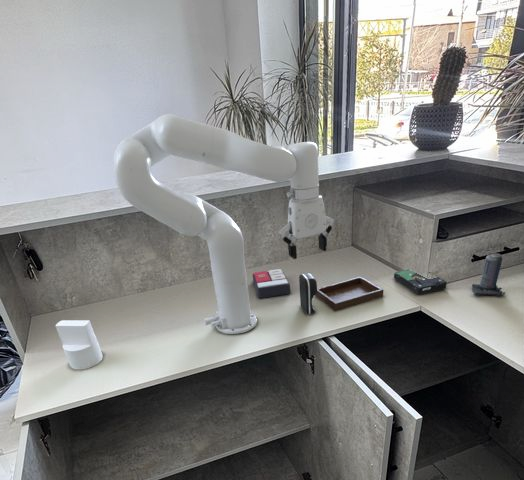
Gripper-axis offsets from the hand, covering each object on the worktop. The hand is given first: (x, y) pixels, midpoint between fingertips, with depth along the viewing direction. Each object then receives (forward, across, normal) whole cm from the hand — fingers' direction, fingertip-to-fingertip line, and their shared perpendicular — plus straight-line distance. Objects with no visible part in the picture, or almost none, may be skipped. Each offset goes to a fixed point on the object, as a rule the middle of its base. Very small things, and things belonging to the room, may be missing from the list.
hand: (308, 253), depth 127 cm
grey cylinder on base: (+19, +50, -20) cm, 58 cm away
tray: (+18, +14, +1) cm, 23 cm away
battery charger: (+18, -1, 0) cm, 18 cm away
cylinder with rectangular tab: (+17, -68, +8) cm, 70 cm away
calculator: (+18, -4, +22) cm, 29 cm away
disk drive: (+19, +38, -4) cm, 43 cm away
